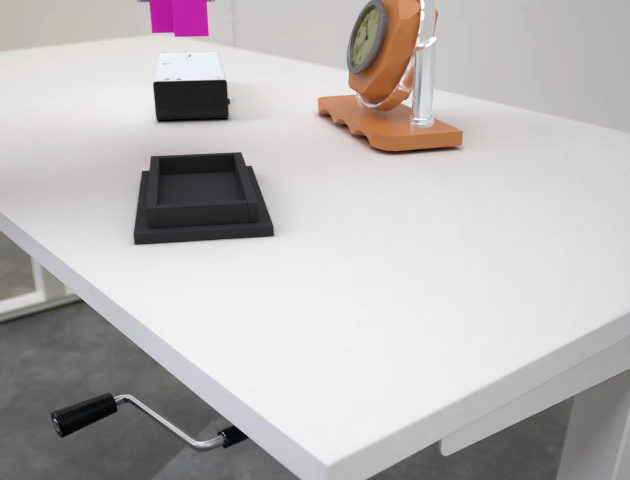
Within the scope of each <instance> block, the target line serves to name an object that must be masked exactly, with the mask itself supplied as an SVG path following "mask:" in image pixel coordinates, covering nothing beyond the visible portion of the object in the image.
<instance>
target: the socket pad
mask: <svg viewBox="0 0 630 480" xmlns="http://www.w3.org/2000/svg"><path fill="white" fill-rule="evenodd" d="M149 161H150V162H149V170H142V171H141V173H140V174H141V176H140V182H139V189H138V190H139V191H138V198H137V206H136V214H135V220H134V227H133V229H134V230H133V241H134V244H135V245H142V244H143V245H144V244H158V243H159V244H162V243H176V242H177V243H178V242H191V241H193V242H194V241H207V240H208V241H209V240H225V239H227V240H228V239H242V238H258V237H272V236H275V233H274V230H275V229H274V224H273V222H272V219H271V216H270V212H269V210H268V206H267V204H266V201H265V199H264V195H263V193H262V190H261V188H260V185H259V182H258V179H257V177H256V173H255V171H254V168H253V165H247V164H246V161H245V159H244V156H243V153H242V152H241V151H238V152H237V151H236V152H215V153H214V152H213V153H212V152H211V153H193V154H172V155H170V154H169V155H167V154H166V155H151V156H150V160H149Z"/></svg>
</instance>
